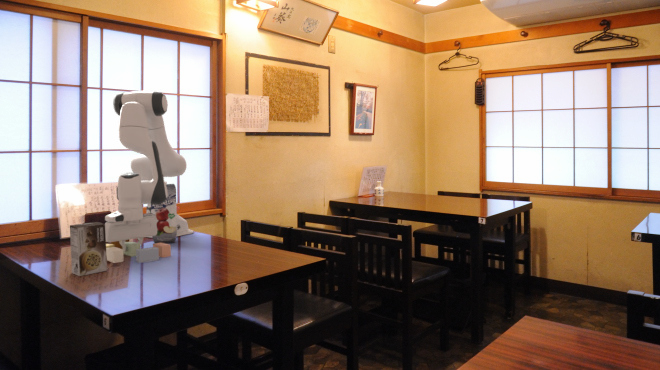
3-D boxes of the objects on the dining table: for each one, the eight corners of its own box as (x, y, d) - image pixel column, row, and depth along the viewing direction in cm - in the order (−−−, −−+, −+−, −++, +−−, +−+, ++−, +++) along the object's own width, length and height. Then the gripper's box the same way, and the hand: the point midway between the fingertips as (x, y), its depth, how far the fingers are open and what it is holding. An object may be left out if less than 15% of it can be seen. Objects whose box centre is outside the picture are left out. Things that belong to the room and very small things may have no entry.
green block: (131, 252, 186) (131, 241, 186) (140, 255, 181) (140, 243, 181) (123, 254, 183) (122, 242, 183) (131, 256, 179) (131, 245, 178)
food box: (98, 267, 162) (97, 221, 160) (107, 271, 157) (106, 223, 156) (70, 273, 154) (69, 224, 153) (79, 276, 150) (77, 226, 149)
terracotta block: (161, 253, 185) (161, 242, 184) (170, 256, 180) (170, 244, 180) (153, 255, 182) (152, 243, 182) (162, 257, 178) (162, 246, 177)
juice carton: (152, 240, 211) (151, 180, 209) (177, 239, 214) (176, 180, 212) (151, 244, 202) (149, 182, 200) (177, 243, 205) (175, 181, 204)
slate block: (136, 261, 172) (135, 249, 171) (155, 258, 176) (155, 246, 176) (139, 263, 169) (139, 250, 169) (158, 260, 173) (158, 248, 173)
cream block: (115, 258, 176) (115, 246, 176) (123, 261, 171) (123, 249, 171) (105, 260, 173) (105, 248, 173) (113, 263, 169) (113, 251, 168)
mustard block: (101, 254, 183) (100, 243, 183) (114, 256, 180) (114, 244, 180) (93, 256, 180) (93, 244, 180) (107, 257, 177) (106, 246, 177)
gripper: (151, 211, 191) (152, 245, 192) (100, 216, 176) (101, 253, 177) (159, 213, 187) (160, 247, 188) (108, 218, 172) (109, 255, 173)
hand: (131, 250), depth 182 cm, fingers closed on green block, 3 cm apart
